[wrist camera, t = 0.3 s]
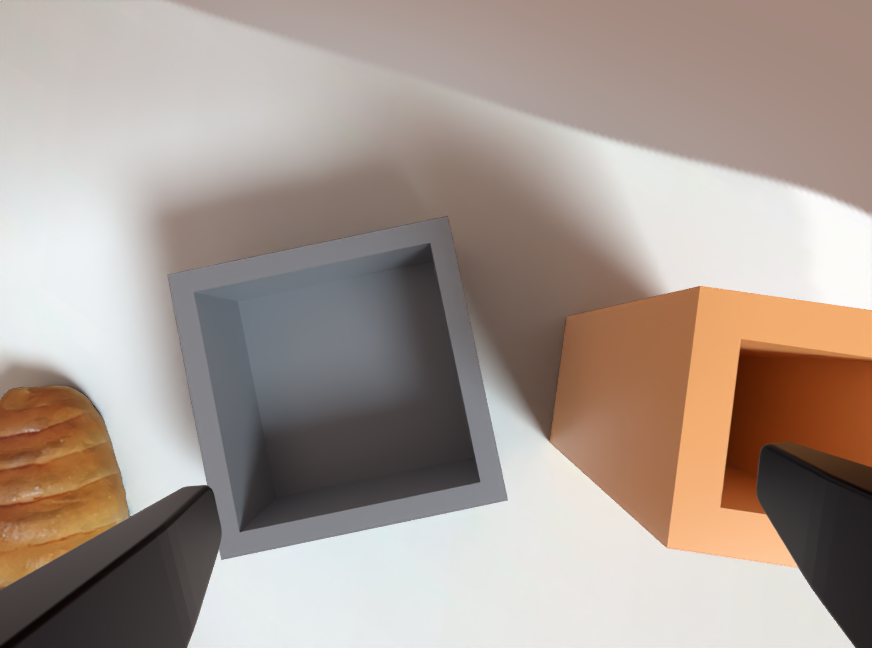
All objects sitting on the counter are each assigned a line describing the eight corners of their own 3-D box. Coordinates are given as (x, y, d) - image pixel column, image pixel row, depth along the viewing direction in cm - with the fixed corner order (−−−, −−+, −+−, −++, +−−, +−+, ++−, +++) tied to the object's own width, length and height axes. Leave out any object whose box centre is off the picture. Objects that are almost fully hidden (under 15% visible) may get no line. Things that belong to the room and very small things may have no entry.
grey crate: (493, 467, 24) (507, 500, 19) (267, 515, 24) (221, 559, 19) (446, 242, 24) (447, 216, 19) (223, 289, 24) (167, 274, 19)
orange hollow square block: (676, 460, 24) (933, 587, 11) (549, 442, 24) (667, 548, 11) (692, 334, 24) (962, 323, 12) (566, 316, 24) (700, 285, 12)
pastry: (-15, 388, 25) (-98, 396, 21) (134, 379, 25) (78, 385, 21) (-9, 600, 24) (-92, 647, 20) (143, 590, 24) (88, 636, 20)
